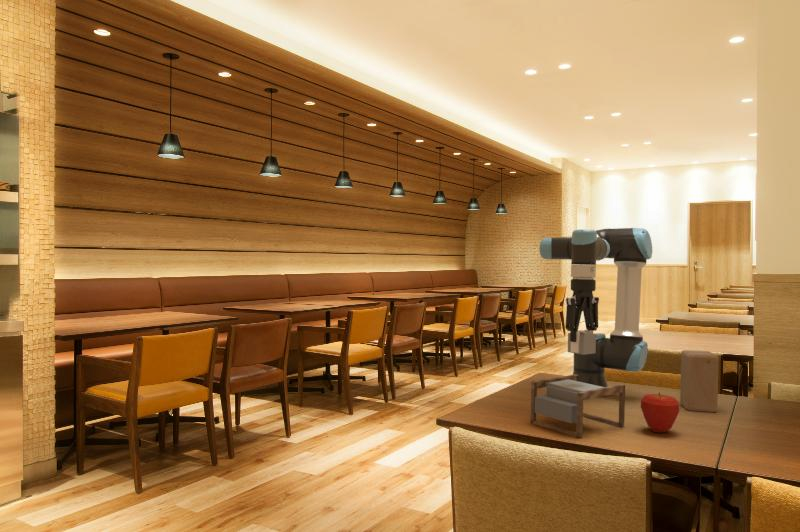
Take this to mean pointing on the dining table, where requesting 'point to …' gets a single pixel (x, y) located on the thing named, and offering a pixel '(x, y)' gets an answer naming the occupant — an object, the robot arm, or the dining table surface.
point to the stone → (584, 342)
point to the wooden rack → (580, 404)
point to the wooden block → (699, 381)
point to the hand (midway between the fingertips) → (581, 351)
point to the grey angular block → (561, 399)
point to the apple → (659, 411)
